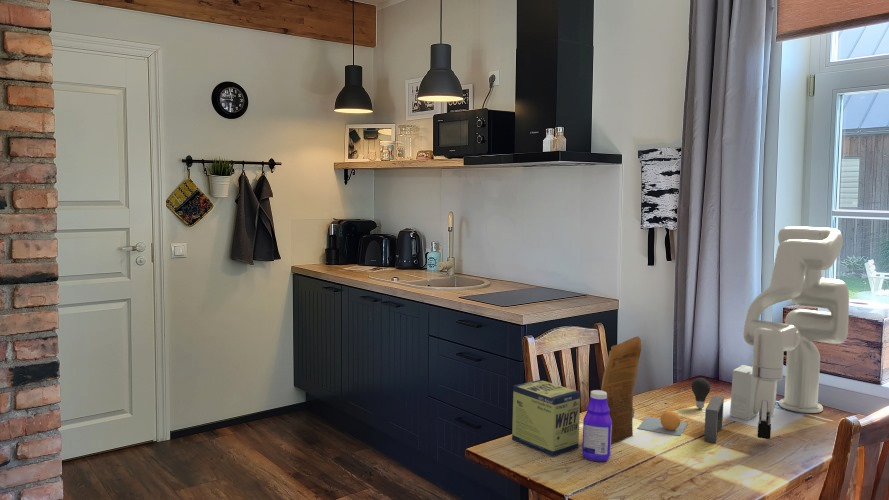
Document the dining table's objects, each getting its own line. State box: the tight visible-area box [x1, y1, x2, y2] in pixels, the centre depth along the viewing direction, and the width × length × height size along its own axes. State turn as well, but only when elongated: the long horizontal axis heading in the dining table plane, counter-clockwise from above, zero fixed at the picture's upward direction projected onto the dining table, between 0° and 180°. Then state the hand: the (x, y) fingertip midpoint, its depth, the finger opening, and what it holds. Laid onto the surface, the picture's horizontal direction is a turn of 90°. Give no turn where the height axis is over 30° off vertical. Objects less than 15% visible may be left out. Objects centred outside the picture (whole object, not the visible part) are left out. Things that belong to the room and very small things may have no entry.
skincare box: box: [729, 364, 758, 421], centre depth 216 cm, size 8×6×15 cm
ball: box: [659, 410, 681, 430], centre depth 202 cm, size 6×6×6 cm
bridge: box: [703, 395, 725, 444], centre depth 198 cm, size 3×14×9 cm, turn 152°
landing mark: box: [636, 416, 688, 437], centre depth 205 cm, size 12×12×1 cm
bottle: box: [581, 389, 612, 462], centre depth 180 cm, size 7×6×17 cm
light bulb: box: [691, 377, 711, 410], centre depth 222 cm, size 6×6×10 cm
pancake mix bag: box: [600, 335, 642, 445], centre depth 194 cm, size 7×19×28 cm, turn 133°
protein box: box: [511, 379, 581, 457], centre depth 189 cm, size 10×16×16 cm
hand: (763, 437), depth 193 cm, fingers closed
